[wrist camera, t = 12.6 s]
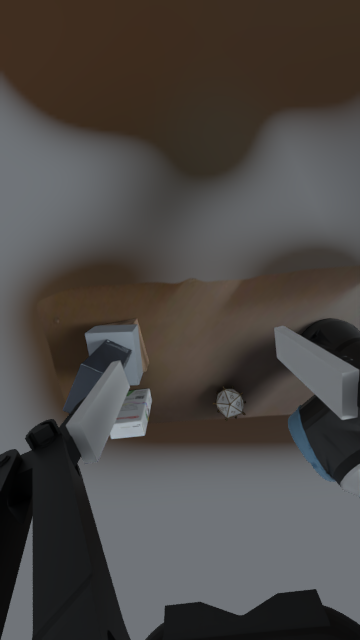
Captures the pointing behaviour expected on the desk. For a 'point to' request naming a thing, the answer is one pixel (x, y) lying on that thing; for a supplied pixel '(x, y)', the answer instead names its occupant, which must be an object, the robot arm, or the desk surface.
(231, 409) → the game die
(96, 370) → the small box
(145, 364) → the walnut slab
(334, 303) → the desk surface
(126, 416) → the ink box
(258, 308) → the desk surface
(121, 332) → the grey slab
